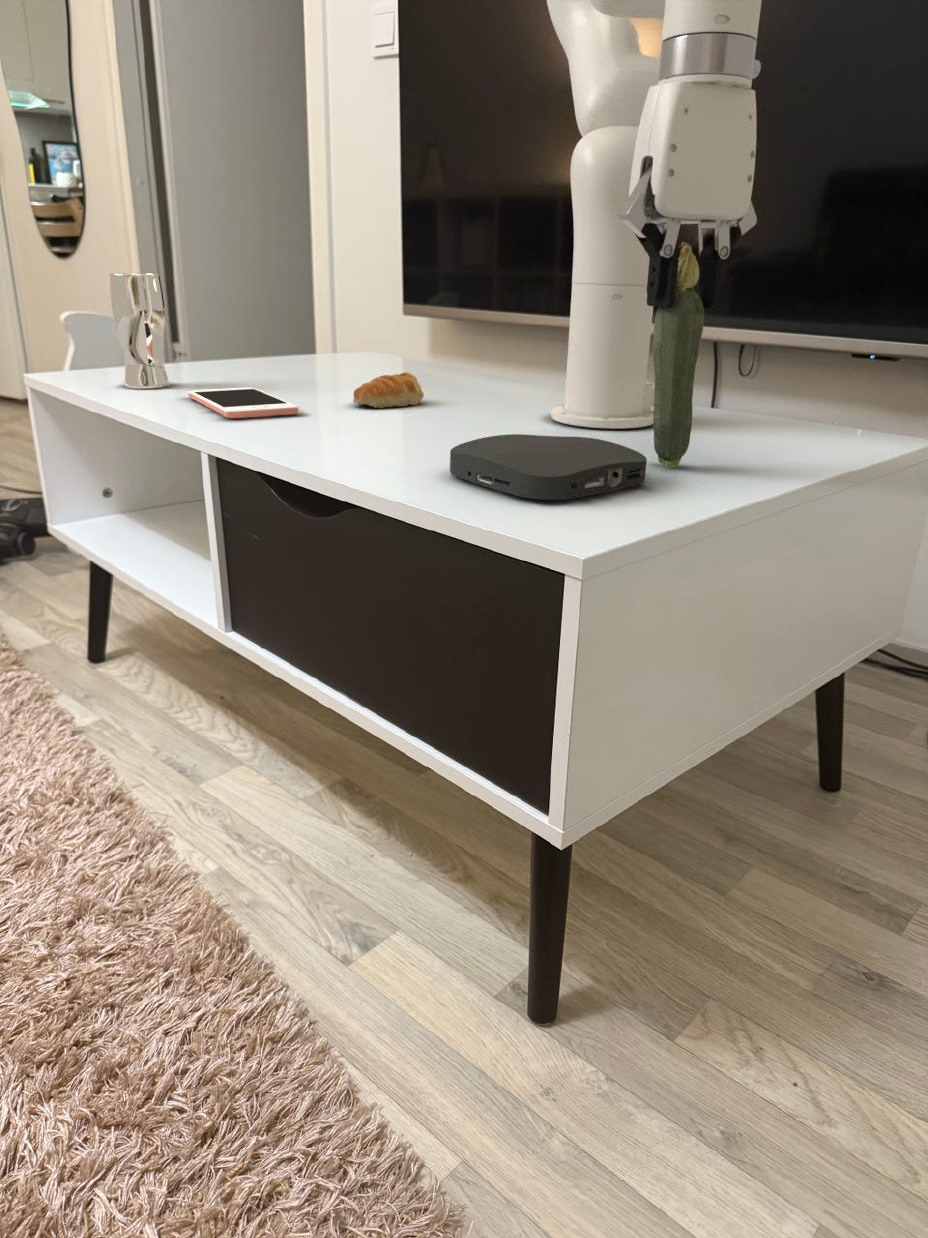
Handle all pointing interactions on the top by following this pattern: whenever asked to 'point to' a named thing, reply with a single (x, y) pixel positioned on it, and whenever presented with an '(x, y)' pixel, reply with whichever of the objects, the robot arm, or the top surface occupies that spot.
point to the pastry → (390, 391)
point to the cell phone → (242, 402)
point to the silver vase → (140, 327)
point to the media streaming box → (547, 465)
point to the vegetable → (676, 362)
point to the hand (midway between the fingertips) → (681, 303)
